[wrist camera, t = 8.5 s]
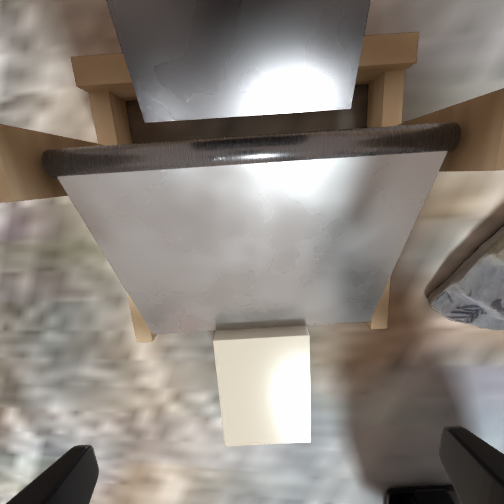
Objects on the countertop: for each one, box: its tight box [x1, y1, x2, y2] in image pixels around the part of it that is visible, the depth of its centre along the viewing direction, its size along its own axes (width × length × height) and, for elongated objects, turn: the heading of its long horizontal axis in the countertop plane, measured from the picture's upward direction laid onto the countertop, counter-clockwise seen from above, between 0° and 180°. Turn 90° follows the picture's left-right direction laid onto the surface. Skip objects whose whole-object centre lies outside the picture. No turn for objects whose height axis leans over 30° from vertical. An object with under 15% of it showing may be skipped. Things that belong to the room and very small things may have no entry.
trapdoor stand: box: [0, 32, 504, 343], centre depth 13 cm, size 16×16×10 cm
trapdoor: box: [42, 0, 461, 334], centre depth 11 cm, size 14×12×2 cm
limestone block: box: [213, 325, 311, 446], centre depth 18 cm, size 5×5×7 cm
